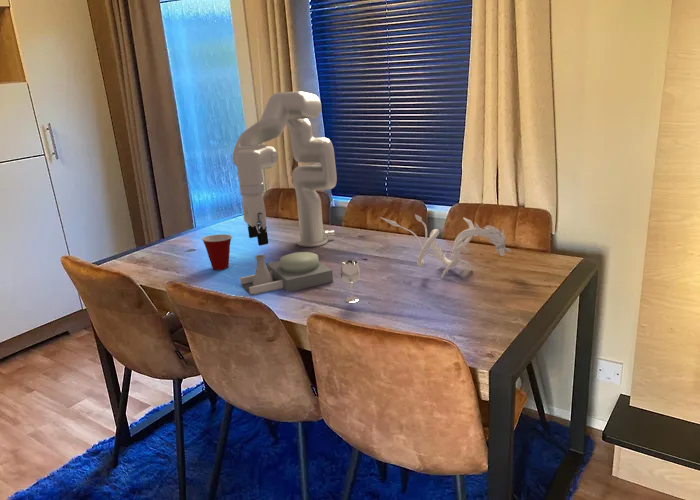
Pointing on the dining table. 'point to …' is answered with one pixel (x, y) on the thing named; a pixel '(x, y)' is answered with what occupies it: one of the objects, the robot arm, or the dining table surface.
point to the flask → (261, 272)
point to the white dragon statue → (456, 243)
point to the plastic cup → (218, 250)
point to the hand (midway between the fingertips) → (258, 240)
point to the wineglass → (350, 276)
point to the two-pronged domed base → (291, 274)
